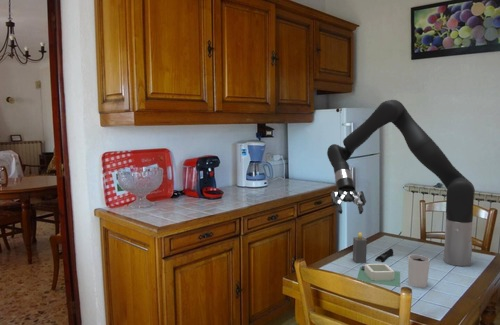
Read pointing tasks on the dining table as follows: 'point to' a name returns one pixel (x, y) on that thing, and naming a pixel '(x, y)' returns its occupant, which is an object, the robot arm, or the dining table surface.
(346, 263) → the dining table surface
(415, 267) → the grey cup
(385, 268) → the socket
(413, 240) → the dining table surface
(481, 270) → the dining table surface
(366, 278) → the circuit board
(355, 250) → the plug
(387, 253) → the electric trimmer
